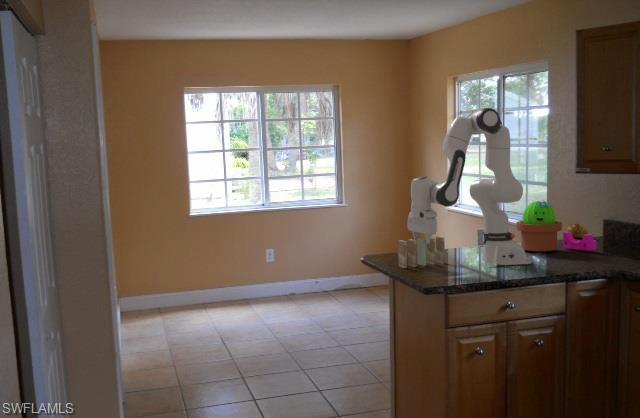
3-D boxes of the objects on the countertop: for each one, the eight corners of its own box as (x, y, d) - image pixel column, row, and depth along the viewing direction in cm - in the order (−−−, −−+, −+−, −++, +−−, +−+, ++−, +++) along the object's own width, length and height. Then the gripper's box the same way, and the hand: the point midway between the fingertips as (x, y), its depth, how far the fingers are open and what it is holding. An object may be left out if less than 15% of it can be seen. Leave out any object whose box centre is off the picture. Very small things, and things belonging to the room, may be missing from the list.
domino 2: (429, 262, 310) (429, 237, 309) (435, 264, 305) (435, 238, 304) (426, 263, 309) (426, 237, 308) (432, 264, 305) (432, 238, 304)
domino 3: (438, 261, 312) (438, 236, 311) (444, 263, 307) (444, 237, 306) (436, 261, 311) (435, 236, 310) (441, 263, 307) (441, 237, 305)
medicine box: (493, 244, 356) (493, 228, 355) (492, 245, 352) (492, 229, 351) (478, 244, 359) (478, 228, 358) (477, 245, 355) (477, 229, 354)
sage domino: (423, 265, 303) (422, 239, 302) (417, 264, 308) (417, 238, 306) (426, 265, 304) (425, 239, 302) (420, 263, 308) (420, 238, 307)
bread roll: (562, 235, 381) (562, 221, 380) (577, 234, 383) (577, 220, 382) (575, 238, 369) (575, 223, 368) (590, 237, 371) (591, 222, 370)
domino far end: (401, 265, 304) (401, 240, 303) (407, 267, 300) (406, 241, 299) (398, 266, 304) (397, 240, 303) (403, 268, 299) (403, 241, 298)
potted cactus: (516, 245, 351) (516, 198, 348) (560, 245, 345) (560, 197, 342) (516, 252, 330) (516, 202, 327) (563, 252, 324) (563, 201, 321)
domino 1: (411, 264, 306) (410, 239, 305) (416, 266, 302) (416, 240, 300) (408, 265, 306) (407, 239, 304) (413, 266, 301) (413, 240, 300)
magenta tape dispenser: (596, 249, 332) (596, 234, 331) (588, 250, 329) (588, 235, 328) (571, 245, 345) (571, 231, 344) (563, 246, 342) (563, 232, 341)
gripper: (403, 210, 311) (404, 240, 313) (426, 214, 293) (427, 245, 294) (415, 209, 314) (416, 238, 315) (439, 213, 295) (439, 244, 296)
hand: (421, 242), depth 304 cm, fingers open, 8 cm apart
